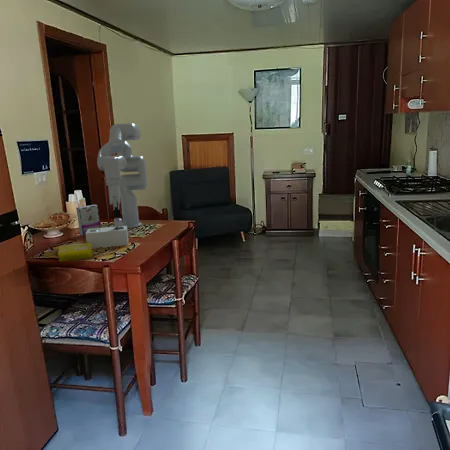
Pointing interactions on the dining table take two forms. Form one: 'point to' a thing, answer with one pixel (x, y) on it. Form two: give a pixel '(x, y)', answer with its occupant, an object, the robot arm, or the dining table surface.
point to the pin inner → (118, 223)
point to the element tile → (75, 252)
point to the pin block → (107, 237)
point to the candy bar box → (88, 218)
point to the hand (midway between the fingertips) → (117, 217)
